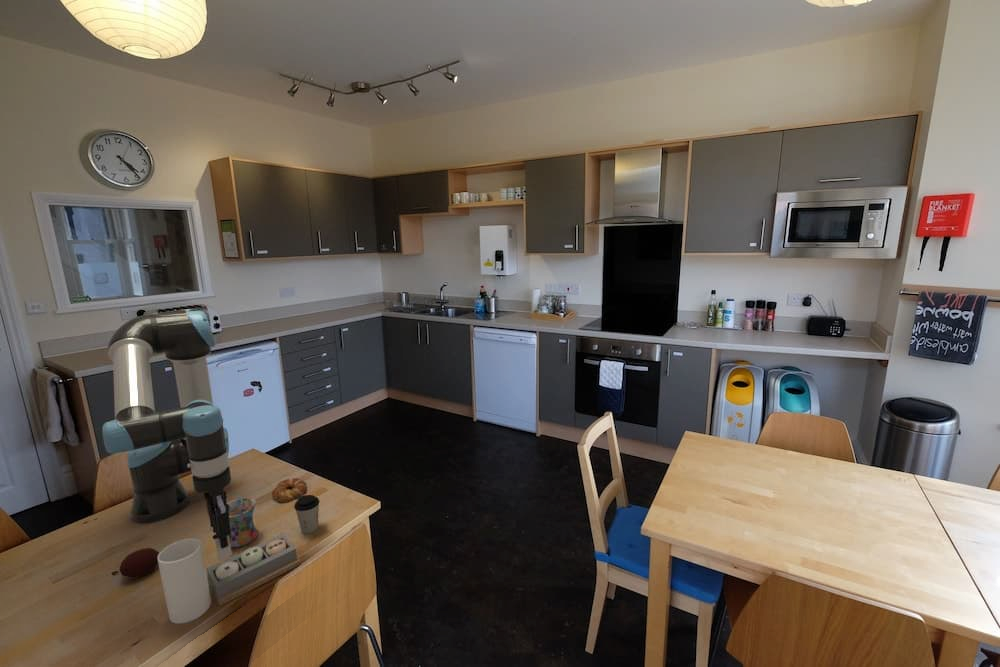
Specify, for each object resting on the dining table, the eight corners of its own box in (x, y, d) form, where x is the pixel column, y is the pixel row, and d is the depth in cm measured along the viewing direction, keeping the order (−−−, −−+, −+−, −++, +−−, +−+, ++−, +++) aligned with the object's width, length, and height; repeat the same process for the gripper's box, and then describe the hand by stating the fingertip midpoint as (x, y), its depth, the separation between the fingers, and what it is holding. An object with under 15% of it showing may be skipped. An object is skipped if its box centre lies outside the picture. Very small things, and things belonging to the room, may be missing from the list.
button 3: (264, 556, 120) (262, 545, 119) (282, 547, 123) (281, 536, 122) (270, 564, 116) (269, 553, 116) (289, 555, 120) (288, 544, 119)
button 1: (215, 579, 112) (213, 568, 111) (236, 569, 115) (234, 558, 114) (220, 589, 108) (218, 577, 108) (242, 579, 112) (240, 567, 111)
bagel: (297, 504, 146) (296, 494, 145) (264, 504, 147) (263, 494, 146) (313, 484, 158) (312, 475, 157) (282, 484, 158) (281, 475, 157)
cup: (183, 596, 108) (172, 539, 105) (218, 594, 109) (208, 536, 106) (161, 625, 100) (148, 563, 97) (199, 622, 101) (187, 561, 98)
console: (206, 580, 113) (203, 565, 113) (283, 543, 127) (281, 530, 126) (219, 606, 105) (217, 591, 104) (300, 564, 118) (298, 550, 118)
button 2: (240, 563, 115) (238, 552, 115) (259, 554, 119) (258, 543, 118) (246, 573, 112) (244, 561, 111) (266, 563, 115) (264, 552, 115)
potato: (122, 570, 117) (118, 551, 116) (161, 557, 122) (157, 538, 121) (120, 587, 111) (116, 567, 110) (161, 572, 116) (157, 552, 115)
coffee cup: (327, 525, 135) (324, 495, 133) (309, 539, 128) (305, 508, 126) (310, 519, 138) (307, 490, 135) (291, 533, 131) (288, 502, 129)
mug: (256, 546, 126) (251, 513, 124) (219, 553, 123) (213, 519, 121) (264, 521, 137) (260, 490, 135) (230, 527, 134) (225, 496, 132)
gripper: (185, 466, 107) (200, 550, 112) (199, 487, 98) (214, 578, 104) (221, 455, 112) (233, 536, 118) (237, 474, 104) (249, 561, 109)
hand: (224, 556), depth 111 cm, fingers closed
